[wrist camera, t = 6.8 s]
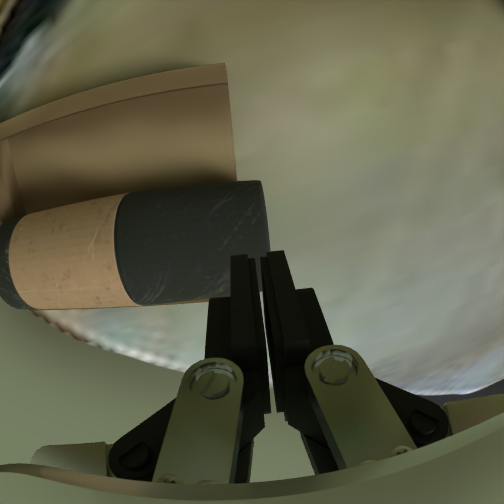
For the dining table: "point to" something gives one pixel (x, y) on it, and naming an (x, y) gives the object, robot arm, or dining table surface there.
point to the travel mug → (133, 247)
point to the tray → (119, 142)
